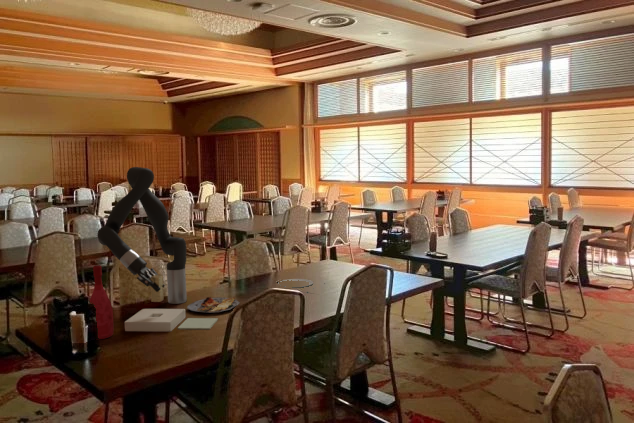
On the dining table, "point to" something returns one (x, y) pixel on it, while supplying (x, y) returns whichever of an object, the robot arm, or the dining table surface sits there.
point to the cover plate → (155, 320)
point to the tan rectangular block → (159, 295)
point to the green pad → (198, 323)
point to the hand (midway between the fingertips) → (161, 288)
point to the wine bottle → (102, 306)
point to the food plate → (213, 304)
